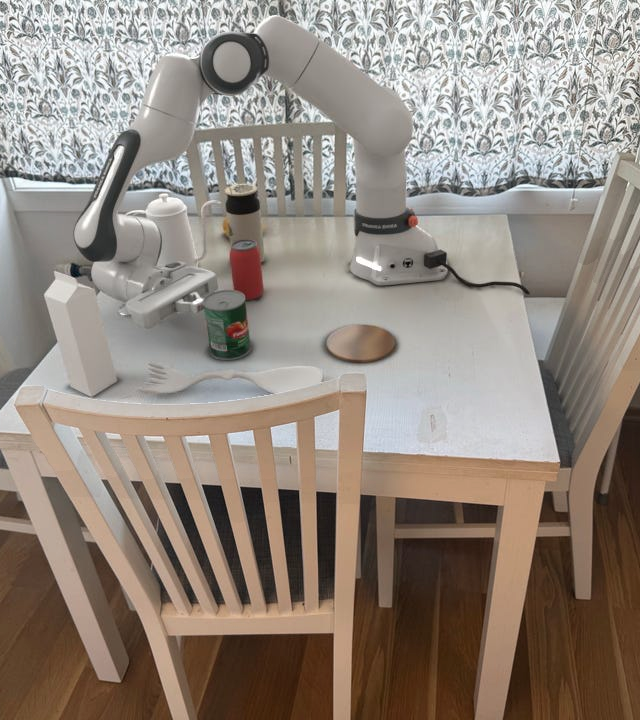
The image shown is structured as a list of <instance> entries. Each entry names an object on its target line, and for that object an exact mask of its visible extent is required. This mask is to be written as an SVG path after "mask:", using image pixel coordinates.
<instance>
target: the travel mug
mask: <svg viewBox="0 0 640 720" xmlns="http://www.w3.org/2000/svg"><path fill="white" fill-rule="evenodd" d="M257 191H258V187H257V185H255V184H252V183H236V184H233V185H230V186H227V187H225V189H224V193H225V194H226V201H225V212H226V218H227V221H228V230H229V237H228V238H229V246H230V247H231V244H232V243H233V242H235V241H237V240H242V239H250V240H254V241H256V243H257V246H258V248H259V250H260V256H261V263H263V262H264V261H265V259H266V256H265V247H264V246H265V245H264V236H263V232H262V224H263V222H262V212H261V211H262V210H261V201H260V199H259V198H258V196H257Z"/></svg>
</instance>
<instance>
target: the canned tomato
mask: <svg viewBox="0 0 640 720" xmlns="http://www.w3.org/2000/svg"><path fill="white" fill-rule="evenodd" d="M246 301H247V300H245V295H244V294H243V293H241V292H239V291H235V290H234V289H221V290H217V291H215V292H213V293H211V294H209V295H207V296H206V297H205V298H203V305H204V309H203V310H204V311H203V312H204V317H205V324H206V330H207V338H208V344H209V352H210V355H211V356H212V357H213V358H215V359H217V360H220V361H235V360H238V359H242V358H244V357H245V356H247V355H248V354H249V353H250V352H251V349H252V344H251V337H250V330H249V329H250V327H249V320H248V312H247V311H248V309H247V302H246Z"/></svg>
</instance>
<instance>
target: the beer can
mask: <svg viewBox="0 0 640 720" xmlns="http://www.w3.org/2000/svg"><path fill="white" fill-rule="evenodd" d="M229 263H230V272H231V279H232V288H233V290H235V291H239V292H241V293H243V294H244V295H245V301H252V300H256V299H258V298H260V297H261V296H262V295H263V294H264V292H265V291H264V279H263V268H262V267H263V266H262V262H261V256H260V250H259V248H258V246H257V243H256V241H254V240H250V239H242V240H237V241H235V242H233V243H232V244H231V246H230V250H229Z"/></svg>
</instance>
